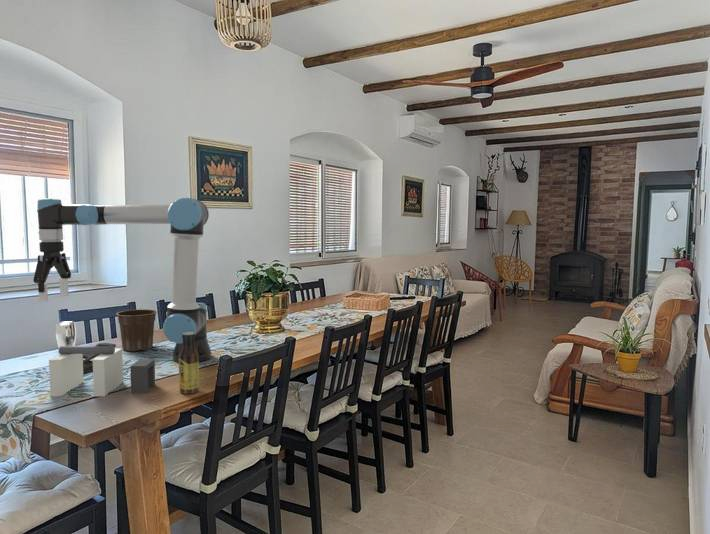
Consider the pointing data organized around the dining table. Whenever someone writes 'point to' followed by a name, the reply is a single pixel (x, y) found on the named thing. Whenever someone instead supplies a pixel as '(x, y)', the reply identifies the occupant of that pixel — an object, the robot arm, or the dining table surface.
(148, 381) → the grey block
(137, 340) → the plant pot
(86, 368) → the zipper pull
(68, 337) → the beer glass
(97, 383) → the shelf stand
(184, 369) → the sauce bottle
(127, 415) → the dining table surface
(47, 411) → the dining table surface
